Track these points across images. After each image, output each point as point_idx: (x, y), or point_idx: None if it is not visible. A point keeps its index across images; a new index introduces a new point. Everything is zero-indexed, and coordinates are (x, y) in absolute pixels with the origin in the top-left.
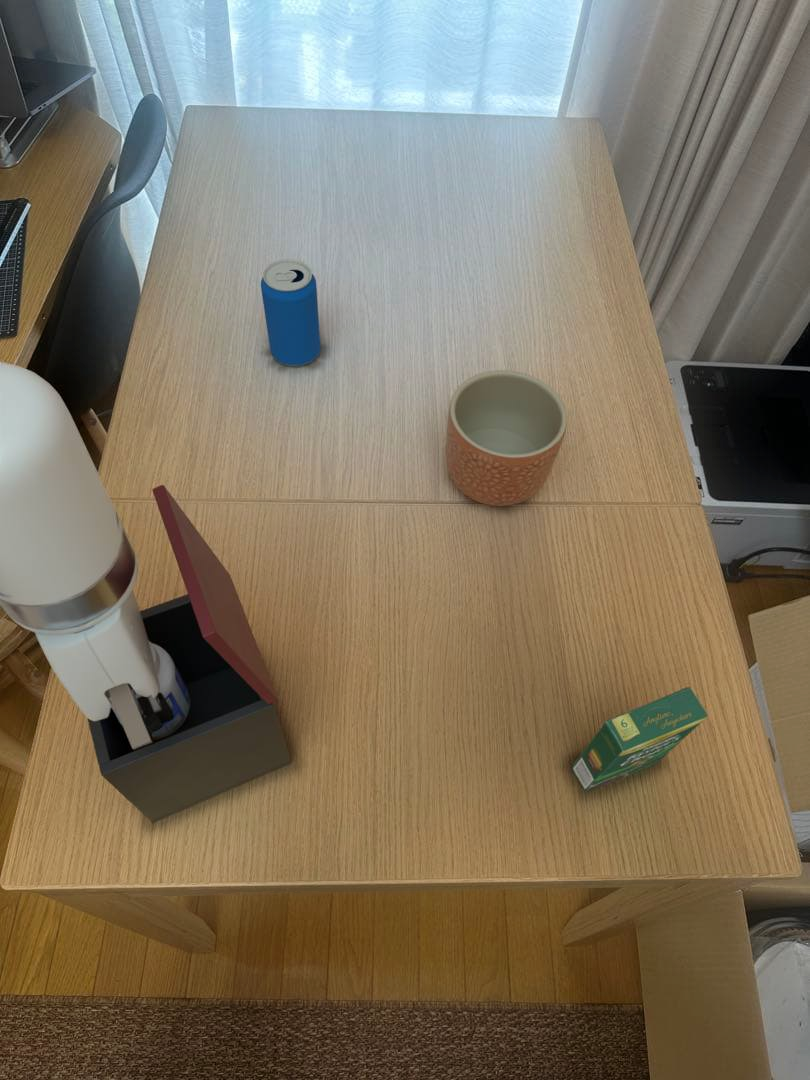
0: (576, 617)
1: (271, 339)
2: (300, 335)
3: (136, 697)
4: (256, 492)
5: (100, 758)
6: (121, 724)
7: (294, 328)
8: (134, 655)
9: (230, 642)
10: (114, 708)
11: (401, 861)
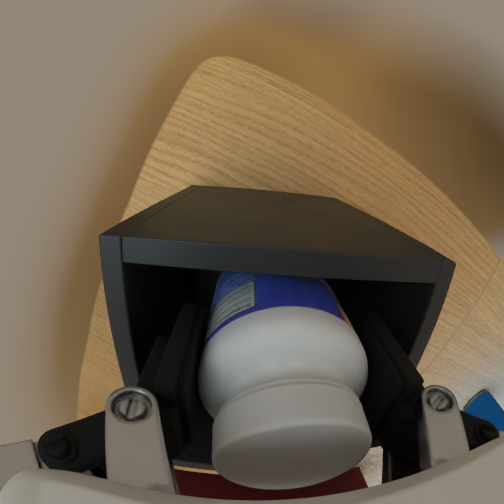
0: (214, 472)
1: (490, 402)
2: None
3: (217, 394)
4: (432, 368)
5: (133, 245)
6: (107, 401)
7: None
8: None
9: None
10: (107, 468)
11: (94, 350)
